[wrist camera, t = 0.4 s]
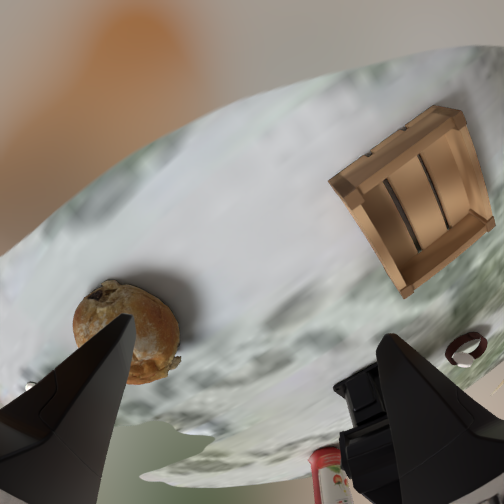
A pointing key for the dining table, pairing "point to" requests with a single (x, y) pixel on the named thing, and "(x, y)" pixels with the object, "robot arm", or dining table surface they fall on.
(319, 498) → the liquor
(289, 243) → the dining table surface
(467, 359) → the watch
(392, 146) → the crate
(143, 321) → the bread roll
